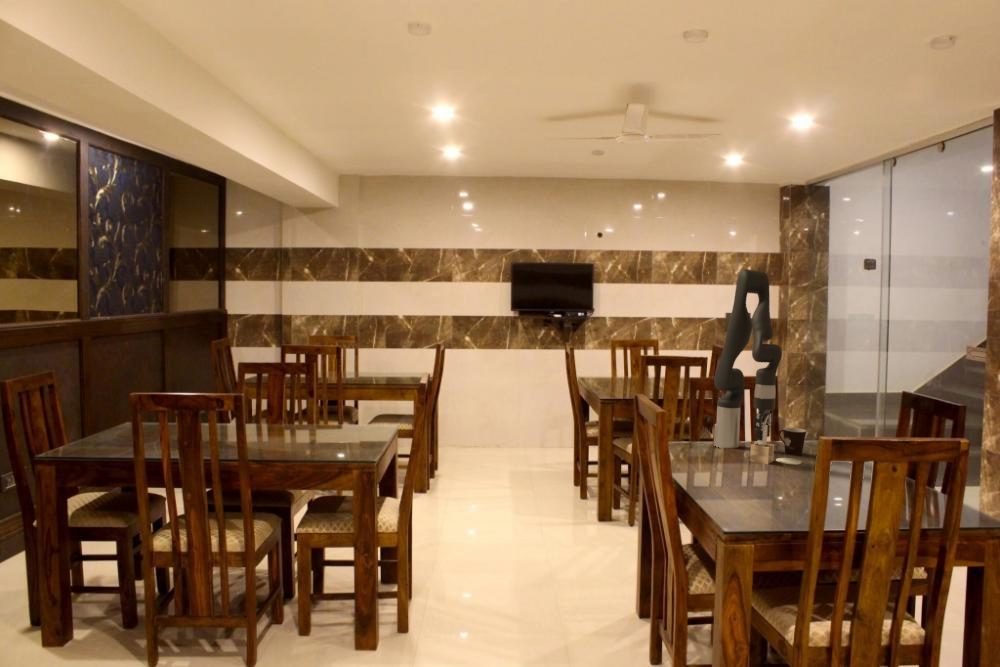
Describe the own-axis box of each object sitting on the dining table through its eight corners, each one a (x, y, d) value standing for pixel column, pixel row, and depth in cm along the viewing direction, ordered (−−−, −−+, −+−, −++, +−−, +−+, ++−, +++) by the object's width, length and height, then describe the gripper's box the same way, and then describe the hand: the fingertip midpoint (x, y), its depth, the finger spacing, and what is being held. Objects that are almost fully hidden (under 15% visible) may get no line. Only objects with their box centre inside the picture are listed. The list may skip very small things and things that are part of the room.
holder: (749, 463, 274) (750, 445, 274) (755, 460, 279) (756, 442, 279) (767, 466, 270) (768, 447, 270) (773, 462, 275) (773, 445, 275)
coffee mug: (808, 457, 287) (809, 432, 286) (786, 456, 287) (787, 431, 286) (796, 450, 298) (798, 426, 298) (776, 449, 298) (777, 426, 298)
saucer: (772, 463, 275) (773, 460, 275) (780, 459, 282) (780, 456, 282) (797, 467, 269) (797, 464, 269) (804, 463, 276) (804, 460, 276)
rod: (756, 461, 275) (758, 424, 274) (758, 459, 277) (760, 423, 276) (764, 462, 273) (766, 425, 272) (766, 461, 275) (768, 424, 274)
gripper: (760, 393, 281) (758, 434, 282) (748, 397, 270) (746, 439, 271) (780, 395, 276) (778, 436, 278) (768, 399, 265) (766, 442, 266)
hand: (762, 438), depth 274 cm, fingers open, 8 cm apart
